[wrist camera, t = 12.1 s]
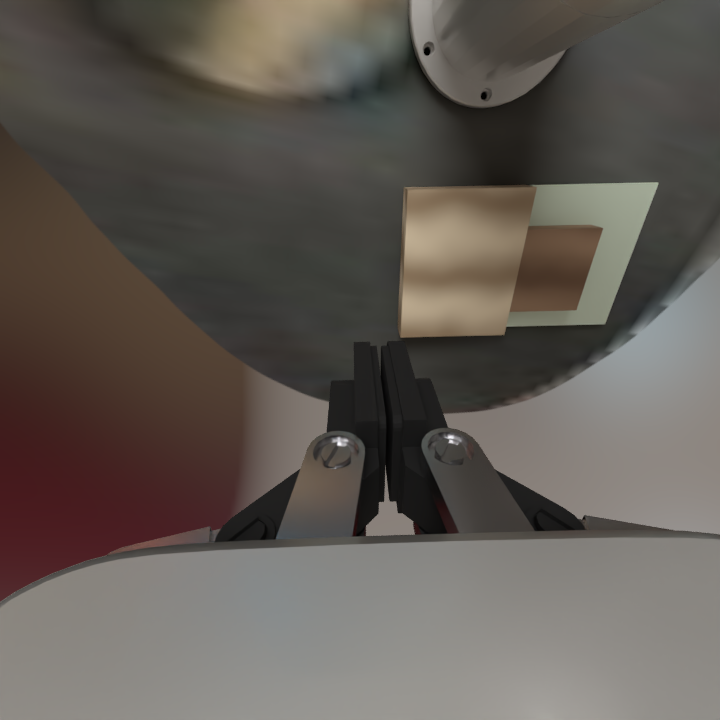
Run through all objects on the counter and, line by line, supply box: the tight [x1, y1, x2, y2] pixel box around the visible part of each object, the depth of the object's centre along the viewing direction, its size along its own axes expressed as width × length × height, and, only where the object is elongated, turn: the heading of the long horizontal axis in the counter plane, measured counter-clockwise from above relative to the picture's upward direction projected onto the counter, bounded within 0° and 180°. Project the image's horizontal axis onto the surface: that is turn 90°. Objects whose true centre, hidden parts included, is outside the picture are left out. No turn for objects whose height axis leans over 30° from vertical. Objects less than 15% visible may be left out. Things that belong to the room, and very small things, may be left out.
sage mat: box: [506, 182, 659, 327], centre depth 35 cm, size 14×12×1 cm
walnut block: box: [510, 225, 603, 312], centre depth 34 cm, size 8×7×2 cm
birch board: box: [398, 185, 537, 338], centre depth 34 cm, size 14×11×2 cm
